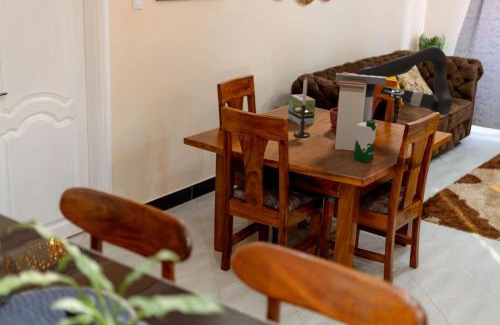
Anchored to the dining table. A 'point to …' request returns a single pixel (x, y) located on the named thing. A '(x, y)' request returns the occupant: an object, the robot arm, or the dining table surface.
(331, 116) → the plant pot
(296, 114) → the tea box
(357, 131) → the milk carton
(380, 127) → the dining table surface
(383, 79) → the steel bar
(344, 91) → the stand
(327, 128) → the dining table surface
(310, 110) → the candlestick
